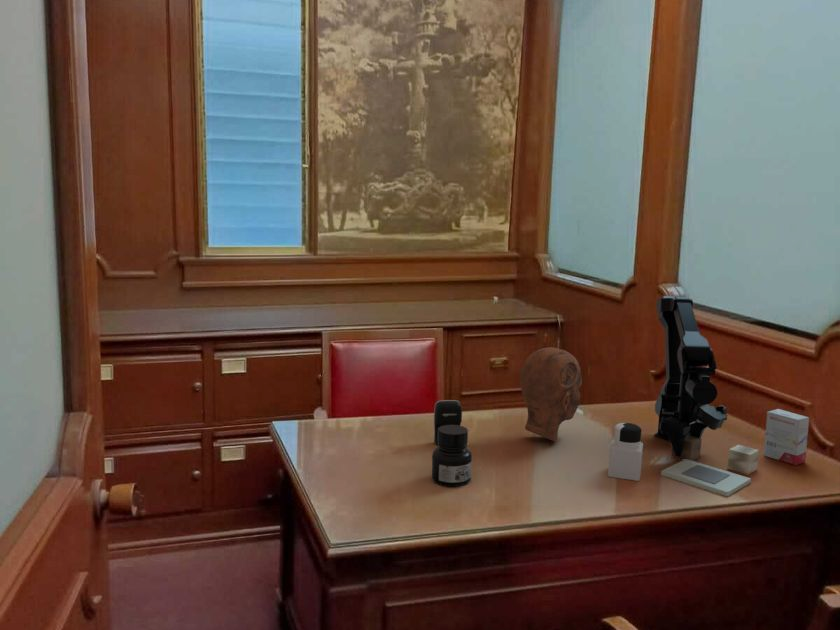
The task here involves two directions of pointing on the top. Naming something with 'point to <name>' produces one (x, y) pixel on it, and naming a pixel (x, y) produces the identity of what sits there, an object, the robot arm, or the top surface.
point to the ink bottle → (452, 456)
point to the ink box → (786, 436)
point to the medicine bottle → (626, 452)
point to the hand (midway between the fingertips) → (686, 452)
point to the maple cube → (743, 459)
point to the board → (706, 477)
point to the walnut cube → (690, 448)
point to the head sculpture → (550, 390)
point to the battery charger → (446, 415)
